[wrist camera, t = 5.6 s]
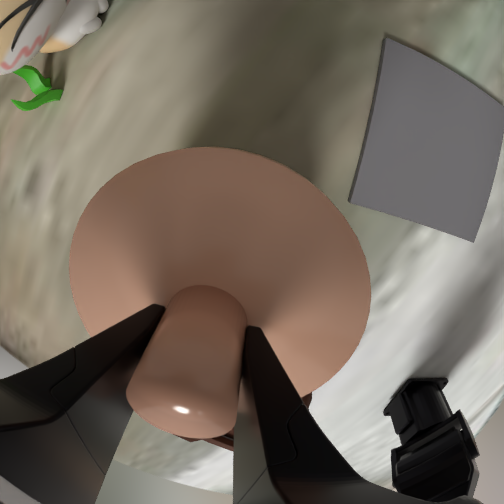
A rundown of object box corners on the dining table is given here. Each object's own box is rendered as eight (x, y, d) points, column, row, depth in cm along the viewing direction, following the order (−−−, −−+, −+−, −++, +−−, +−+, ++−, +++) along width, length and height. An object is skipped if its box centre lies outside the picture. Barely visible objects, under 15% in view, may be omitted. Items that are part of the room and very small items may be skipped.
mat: (502, 109, 14) (506, 109, 13) (469, 239, 19) (473, 242, 18) (383, 39, 13) (386, 37, 13) (347, 200, 18) (350, 202, 18)
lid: (406, 192, 8) (500, 251, 4) (309, 410, 12) (315, 491, 8) (80, 132, 7) (-26, 153, 3) (97, 364, 12) (59, 432, 8)
